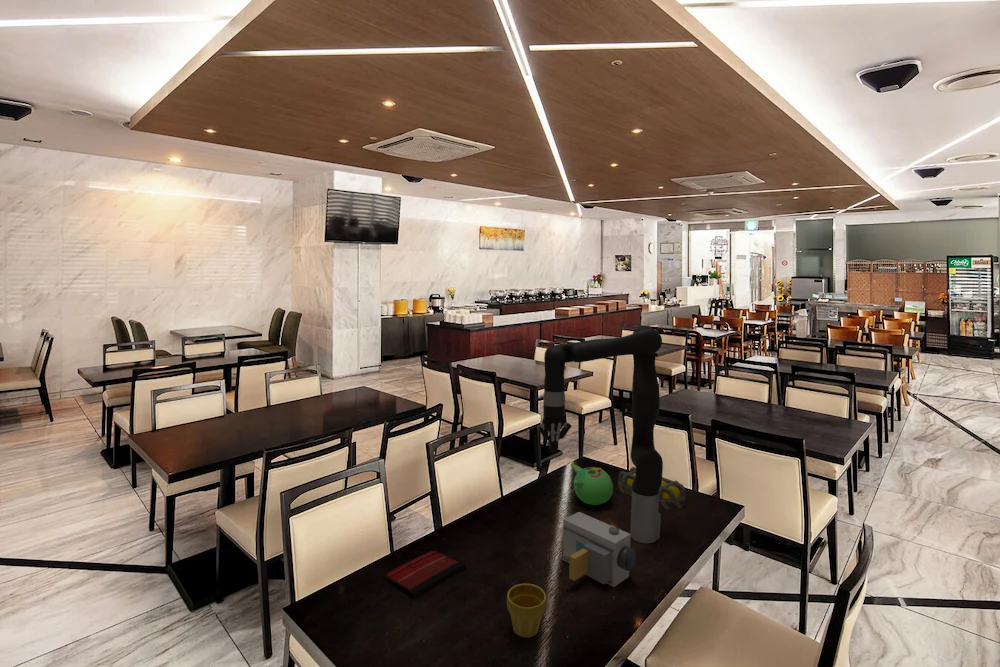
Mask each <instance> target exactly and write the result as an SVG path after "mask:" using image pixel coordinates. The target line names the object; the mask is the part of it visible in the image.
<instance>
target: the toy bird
mask: <svg viewBox="0 0 1000 667" xmlns="http://www.w3.org/2000/svg"><path fill="white" fill-rule="evenodd" d="M570 466H571V468H572V469H573V471H574V472H575V474H576V475H575V476H574V479H573V489H574V492H575V495H576V496H577V498H578V499H579V500H580V501H581V502H583V503H584V504H587V505H590V506H591V505H592V506H599V505H600V506H601V505H602V504H605V503H607V502H608V501H609V500H610V499H611V498H612V495H613V492H614V485H613V481H612V479H611V477H610V475H609V474H608V473H607V472H606V471H605V470H604V469H603V468H601V467H594V466H590V467H585V468H582V467H581V466H578V465H577V464H575V463H573V462H571V463H570Z"/></svg>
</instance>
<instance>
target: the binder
mask: <svg viewBox="0 0 1000 667" xmlns="http://www.w3.org/2000/svg"><path fill="white" fill-rule="evenodd" d="M464 570H467V563H466V562H462V560H461V561H460V560H458V559H456V558H454V557H451V556H449V555H447V554H445V553H444V552H441V551H438V550H434V549H433V550H429V551H428V552H425V553H423V554H421V555H417V556H415V557H414V558H411V559H410V560H408V561H406V562H404V563H402V564H400V565H399V566H396V567H395V568H392V569H391V570H389V571H387V572H386V573H385V574H384V580H386V581H387V582H389V583H390V584H391V585H393V586H395V588H397V589H398V590H400V591H401V592H403V593H404V594H408V593H411V594H412V595H413V599H414V600H415V599H417V598H418V597H420V596H422V595H424V594H425V593H427V592H429V591H430V590H432V589H434V588H435V587H437V586H439V585H440V584H442V583H444V582H446V581H447V580H449V579H451V578H453V577H454V576H457V575H458V574H460V573H462V572H463V571H464Z"/></svg>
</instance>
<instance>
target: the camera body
mask: <svg viewBox="0 0 1000 667" xmlns="http://www.w3.org/2000/svg"><path fill="white" fill-rule="evenodd" d="M562 520H563V523H562V524H563V525H562V526H563V528H562V530H563V531H562V532H563V533H562V535H563V537H562V561H564V562H566V563H568V564H569V562H570V556H571V555H572V554H574V553H576V552H578V551H579V550H581V549H583V545H585V544H586V543H588V542H592V543H594V544H596V545H598V546H600V547H602V548H604V549H606V550H608V551H610V552H611V577H610V581H608V582H607V583H606V584H607V585H608V586H611V587H613V588H615V587H616V586H618V585H619V584H621V583H622V582H623V581H625V580H627V579H628V578H629V577H630V570H631V569H633V567H634V565H635V564H636V560H637V551H636V550H635V549H634V548H632V547H631V536H630V535H631V534H630V533H629V532H627V531H624V530H623V529H620V528H618V527H616V526H613V525H611V524H609V523H606V522H604V521H602V520H600V519H599V520H598V519H597V518H594V517H592V516H590V515H588V514H585V513H583V512H581V511H578V512H576V513H574V514H572V515H570V516H567V517H565V518H563V519H562Z"/></svg>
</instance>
